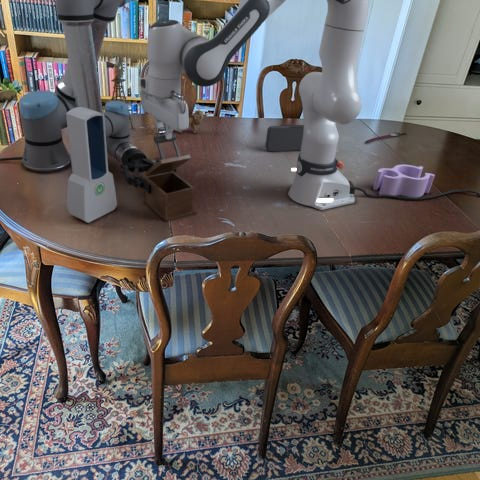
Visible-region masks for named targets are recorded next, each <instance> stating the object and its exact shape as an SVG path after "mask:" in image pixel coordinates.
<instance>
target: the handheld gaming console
mask: <svg viewBox="0 0 480 480" xmlns="http://www.w3.org/2000/svg"><path fill="white" fill-rule="evenodd" d="M303 131H304V124H292V125H291V124H290V125H289V124H286V125H285V124H284V125H283V124H281V125H270V126H268V127H267V130H266V139H265V145H264V146H265V150H267V151H268V152H289V151H290V152H292V151H294V152H295V151H301V145H302V139H303Z"/></svg>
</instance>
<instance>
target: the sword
mask: <svg viewBox="0 0 480 480" xmlns="http://www.w3.org/2000/svg"><path fill="white" fill-rule="evenodd" d="M404 134H406V133H402V134H400V132H393V133H390V134H387V135H381V136H378V137H374V138H370V139H368V140H366V141H365V144H368V143H370V142H374V141H378V140H381V139H386V138H390V137H394V136H395V137H398V136H399V135H404Z"/></svg>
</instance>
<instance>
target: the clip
mask: <svg viewBox="0 0 480 480" xmlns="http://www.w3.org/2000/svg"><path fill="white" fill-rule="evenodd" d="M423 169H424V166H422V165H419V166H416V165H411V164H396V165H395V166H394V167H391V168H388V167H387V168H385V167H381V168H379V169H378V170H377V174H376V177H375V181H374V184H373V188H372V189H373V191H378V189H379V192H378V195H393V196H401V197H412V198H416V197H424V194H429V193H430V190H431V188H432V185H433V182H434V179H435V175H436V174H434V173H429V172H424V176H422V177H421V175H422V173H423Z"/></svg>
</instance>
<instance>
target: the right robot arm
mask: <svg viewBox="0 0 480 480" xmlns="http://www.w3.org/2000/svg"><path fill="white" fill-rule="evenodd" d="M286 1H287V0H239V3H238V7H237V9H236V10H235V12H234V14H233V15H232V16H231V17H230V19H229V20H228V21H227V22H226V23H225V24H224V25H223V26H222V28H221V29H220V30H219V31H218V32H217V33H216V34H215V35H214V36H213V37H212V38H210V39H208V38H207V37H205V36H203V35H200V34H198V33H195V32H193V31H191V30H190V29H188V28H186V27H185V26H184V25H183V24H182V23H181V22H180V21H179V20H176V19H163V20H159V21H155V22H153V23H152V24H151V26H150V27H149V30H148V34H147V45H146V46H147V48H146V50H147V51H146V53H147V55H146V56H147V60H148V70H147V77H141V78H139V87H141V88H140V104H141V108H142V110H143V112H145V113H147V114H148V115H150V116H151V117H153V118H154V123H155V127H156V133H157V134H158V135H164V137H165V138H166V139H171V138H172V133H174V131H175V132H178V131H182V132H183V131H187V130H188V129H189V116H190V115H189V106H188V103H187V101H186V100H185V98H184V95H182V74H184V73H185V74H186V76H187V78H188V80H189V81H190V82H191V83H193V84H194V85H196V86H199V87H205V88H206V87H210V86H214V85H215V84H218V82H219V81H221V79H222V78H223V77H224V75H225V73H226V70H227V68H228V66H229V64H230V62H231V60H232V59H233V57H234V56H235V55H236V54H237V53H238V52H239V50H240V49H242V47H243V46H244V45H245V44H246V43H247V42H248V41H249V40H250V38H251V37H253V35H254V34H255V33H256V31H258V30H259V28H260V27H261V26H262V24H264V22H265V21H266V20H267V19H268V18H269V17H270V16H271V15H273V13H275V11H277V10H278V9H279V7H280V6H282V5H283V4H284V3H286ZM326 2H327V12H326V16H325V21H324V24H323V26H324V27H323V31H322V35H321V40H320V44H319V50H318V55H319V59H320V60H319V61H320V63H321V72H320V71H312V72H308V73H307V74H305V75H304V76H303V77H302V79H301V80H300V83H299V86H298V93H299V97H300V100H301V105H302V119H303V120H302V123H303V125H304V131H303V139H302V145H301V150H300V151H299V153H298V156H297V161H296V166H295V167H291V170H290V171H291V172H295V174H294V175H295V176H294V178H293V181H292V184H291V186H290V188H289V190H288V193H287V194H288V196H289V198H290V199H291V200H292V201H294V202H296V203H298V204H300V205H303V206H307V207H312V208H315V209H317V210H319V211H324V210H328V209H332V208H338V207H341V206H345V205H346V206H347V205H351V204H354V203H355V202H356V198H355V196H354V195H355V191H356V190H357V191H360V192H362V193H363V195H365V196H366V197H369V198H376V199H377V198H388V199H389V198H390V199H398V200H403V201H404V200H405V201H420V200H421V201H422V200H423V201H424V200H429V199H434V198H438V197H441V196H446V195H450V194H454V193H455V194H456V193H471V194H475V193H476V194H475V195H477V196H478V197H479V198H480V192H478V191H476V190H473V189H452V190H448V191H445V192H440V193H437V194H434V195H428V196H421V197H406V196H401V195H396V196H393V195H380V194H370V193H368V192H367V191H366V190H365V189H364V188H361V187H359V186H355V185H354V184H353V182H352V181H351V180H348V178H346V176H345V175H344V174H343V173H342V172H341V171H339V170H338V169H340V170H342V169H344V167H345V163H343V162H342V161H341V160H338V159H337V158H336V155H337V154H336V153H337V149H338V144H339V140H340V139H339V138H340V137H339V136H340V135H339V132H338V129H337V124H339V125H348V124H350V123H352V122H354V121H355V120H356V119H357V117H358V116H359V115H360V113H361V111H362V106H363V101H362V97H361V95H360V91H359V88H358V87H359V85H358V61H359V55H360V52H361V51H360V50H361V46H362V42H363V37H364V33H365V29H366V25H367V19H368V13H369V4H370V0H326ZM164 125H165V126H164ZM465 191H466V192H465Z"/></svg>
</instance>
